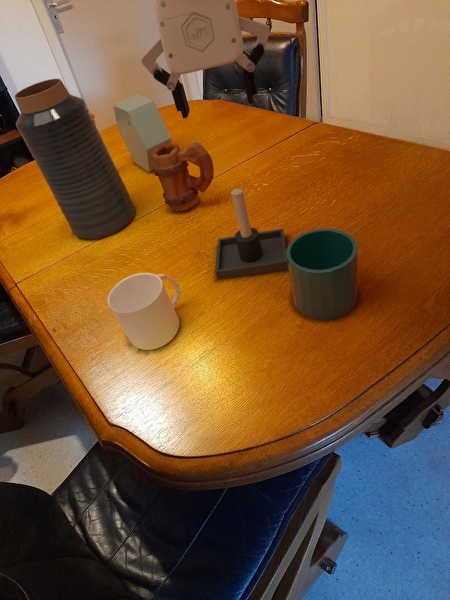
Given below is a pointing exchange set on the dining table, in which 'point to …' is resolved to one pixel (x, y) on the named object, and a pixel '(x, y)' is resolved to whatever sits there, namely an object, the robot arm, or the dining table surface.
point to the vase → (73, 159)
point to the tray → (269, 262)
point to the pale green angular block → (141, 129)
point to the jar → (323, 273)
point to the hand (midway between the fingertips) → (218, 107)
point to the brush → (245, 231)
